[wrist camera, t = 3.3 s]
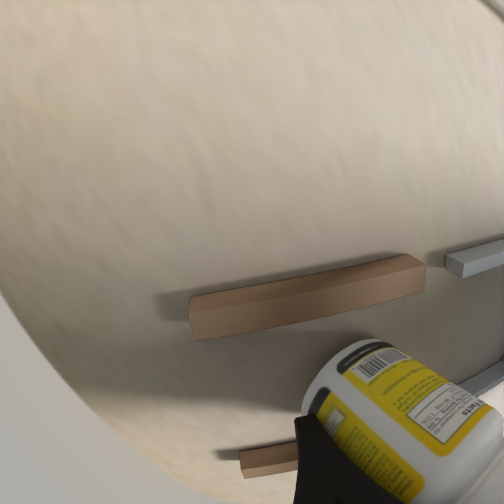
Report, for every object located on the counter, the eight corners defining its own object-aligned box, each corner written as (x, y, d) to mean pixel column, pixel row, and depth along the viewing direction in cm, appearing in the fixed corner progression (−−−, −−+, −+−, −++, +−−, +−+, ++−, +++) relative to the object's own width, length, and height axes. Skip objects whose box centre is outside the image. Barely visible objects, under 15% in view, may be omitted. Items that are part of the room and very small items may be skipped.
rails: (408, 254, 10) (425, 264, 9) (387, 425, 14) (395, 440, 12) (191, 296, 10) (187, 313, 9) (242, 461, 13) (244, 478, 12)
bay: (535, 229, 11) (550, 235, 10) (505, 363, 14) (515, 372, 13) (445, 254, 11) (463, 263, 9) (418, 408, 13) (428, 422, 12)
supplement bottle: (334, 437, 12) (449, 550, 4) (273, 412, 10) (422, 584, 2) (402, 361, 12) (538, 450, 5) (362, 312, 10) (563, 432, 3)
